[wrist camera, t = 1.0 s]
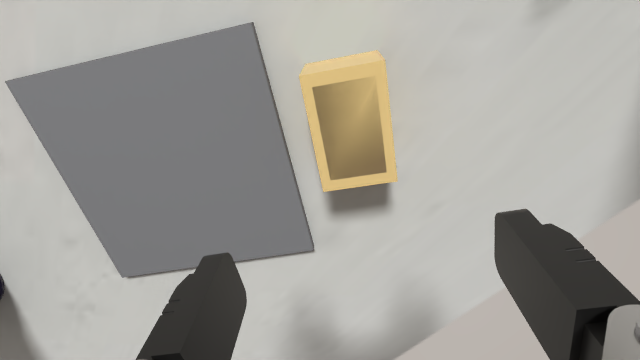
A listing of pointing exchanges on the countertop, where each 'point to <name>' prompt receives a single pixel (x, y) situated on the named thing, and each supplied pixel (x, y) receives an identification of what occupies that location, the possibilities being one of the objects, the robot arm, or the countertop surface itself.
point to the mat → (173, 151)
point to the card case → (350, 120)
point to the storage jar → (1, 287)
